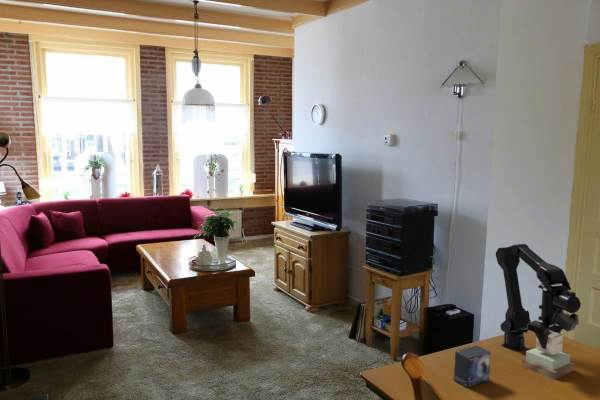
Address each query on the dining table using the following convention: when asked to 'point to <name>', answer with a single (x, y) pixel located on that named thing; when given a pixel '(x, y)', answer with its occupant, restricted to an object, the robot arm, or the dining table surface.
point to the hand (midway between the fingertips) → (548, 346)
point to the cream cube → (551, 343)
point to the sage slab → (548, 358)
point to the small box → (472, 366)
